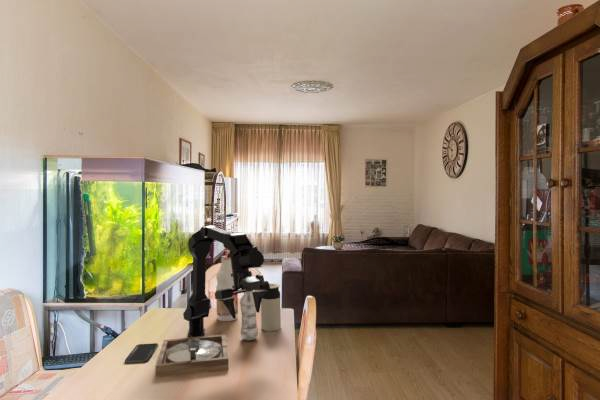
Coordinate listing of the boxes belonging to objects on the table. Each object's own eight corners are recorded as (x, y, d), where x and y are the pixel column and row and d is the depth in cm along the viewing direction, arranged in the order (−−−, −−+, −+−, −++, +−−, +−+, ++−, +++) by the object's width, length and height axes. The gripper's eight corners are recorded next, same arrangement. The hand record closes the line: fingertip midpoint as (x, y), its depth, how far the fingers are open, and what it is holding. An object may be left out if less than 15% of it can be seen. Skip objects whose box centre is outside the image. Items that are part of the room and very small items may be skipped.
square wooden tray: (163, 349, 143) (163, 339, 143) (225, 343, 148) (225, 333, 148) (156, 377, 121) (155, 365, 121) (228, 369, 126) (228, 357, 126)
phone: (123, 361, 131) (137, 344, 146) (123, 365, 131) (137, 347, 146) (148, 360, 132) (159, 343, 147) (148, 363, 132) (159, 346, 147)
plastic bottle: (255, 343, 148) (254, 290, 147) (237, 342, 149) (237, 289, 149) (260, 336, 154) (259, 286, 154) (243, 335, 156) (243, 285, 155)
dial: (169, 346, 141) (168, 332, 141) (220, 341, 145) (220, 328, 145) (163, 368, 124) (163, 352, 124) (221, 362, 128) (221, 347, 128)
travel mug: (273, 333, 158) (272, 288, 158) (257, 329, 162) (256, 286, 162) (284, 327, 165) (283, 284, 165) (269, 323, 169) (268, 282, 169)
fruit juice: (212, 318, 178) (211, 256, 177) (230, 313, 184) (229, 253, 183) (224, 323, 171) (223, 258, 170) (242, 318, 177) (241, 256, 177)
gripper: (226, 272, 124) (233, 323, 122) (275, 264, 136) (282, 310, 134) (211, 274, 133) (217, 321, 131) (258, 266, 144) (264, 309, 142)
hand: (246, 315), depth 134 cm, fingers open, 9 cm apart
